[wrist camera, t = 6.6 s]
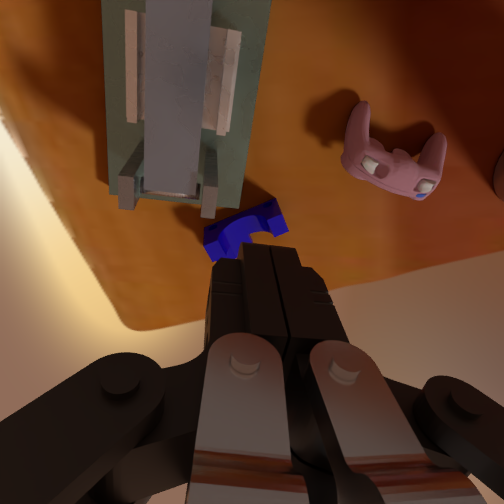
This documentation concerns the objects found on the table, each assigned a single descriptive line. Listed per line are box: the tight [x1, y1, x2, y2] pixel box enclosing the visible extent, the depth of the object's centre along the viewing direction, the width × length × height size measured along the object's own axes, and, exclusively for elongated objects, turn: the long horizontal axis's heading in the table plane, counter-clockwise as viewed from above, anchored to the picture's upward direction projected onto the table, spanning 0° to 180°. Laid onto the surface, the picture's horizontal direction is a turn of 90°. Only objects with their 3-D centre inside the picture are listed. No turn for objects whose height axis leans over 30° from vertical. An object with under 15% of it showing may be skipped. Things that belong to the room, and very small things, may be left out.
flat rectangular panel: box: [140, 0, 213, 200], centre depth 23 cm, size 4×14×1 cm, turn 171°
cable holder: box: [203, 198, 289, 262], centre depth 36 cm, size 8×4×4 cm, turn 112°
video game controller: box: [341, 101, 447, 200], centre depth 32 cm, size 10×5×7 cm, turn 70°
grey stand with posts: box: [101, 0, 272, 219], centre depth 26 cm, size 12×20×10 cm, turn 171°
